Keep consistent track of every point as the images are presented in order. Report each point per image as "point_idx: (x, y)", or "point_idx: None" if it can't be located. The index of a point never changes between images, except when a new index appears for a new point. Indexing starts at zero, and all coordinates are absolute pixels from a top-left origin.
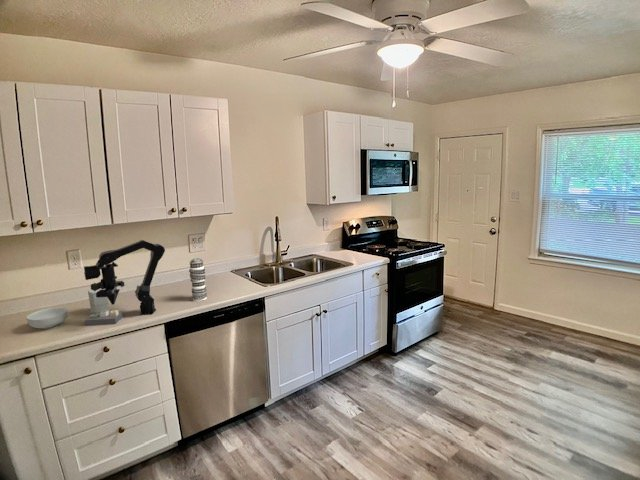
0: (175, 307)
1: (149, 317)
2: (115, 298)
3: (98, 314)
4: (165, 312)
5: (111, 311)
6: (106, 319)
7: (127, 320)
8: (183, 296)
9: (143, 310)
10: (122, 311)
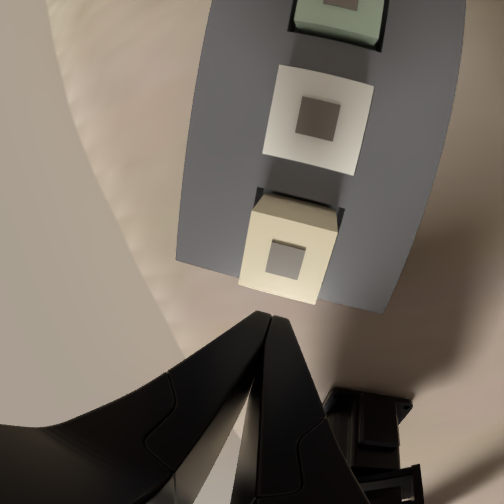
0: None
1: None
2: (239, 459)
3: (362, 36)
4: None
5: (289, 228)
6: (186, 170)
7: None
8: (481, 483)
9: (335, 424)
10: (375, 306)
